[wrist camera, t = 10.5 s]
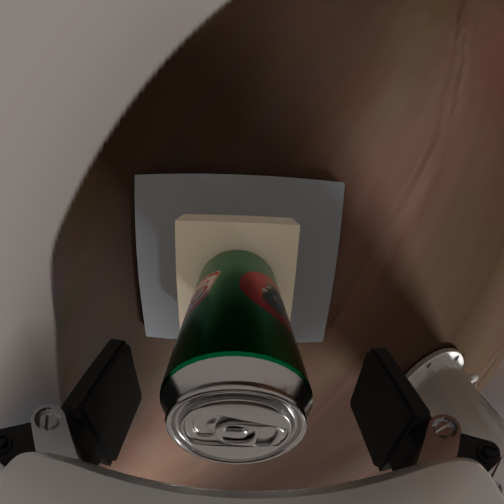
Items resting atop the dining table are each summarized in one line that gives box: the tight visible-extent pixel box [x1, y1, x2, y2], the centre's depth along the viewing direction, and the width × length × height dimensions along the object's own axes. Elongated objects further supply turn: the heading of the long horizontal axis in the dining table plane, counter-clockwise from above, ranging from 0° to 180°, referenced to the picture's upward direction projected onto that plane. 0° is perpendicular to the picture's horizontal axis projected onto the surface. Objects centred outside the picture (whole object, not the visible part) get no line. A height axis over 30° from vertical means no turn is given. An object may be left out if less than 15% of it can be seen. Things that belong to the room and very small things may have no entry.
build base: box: [135, 174, 345, 343], centre depth 20 cm, size 16×14×4 cm
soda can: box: [160, 250, 313, 464], centre depth 13 cm, size 5×5×12 cm
